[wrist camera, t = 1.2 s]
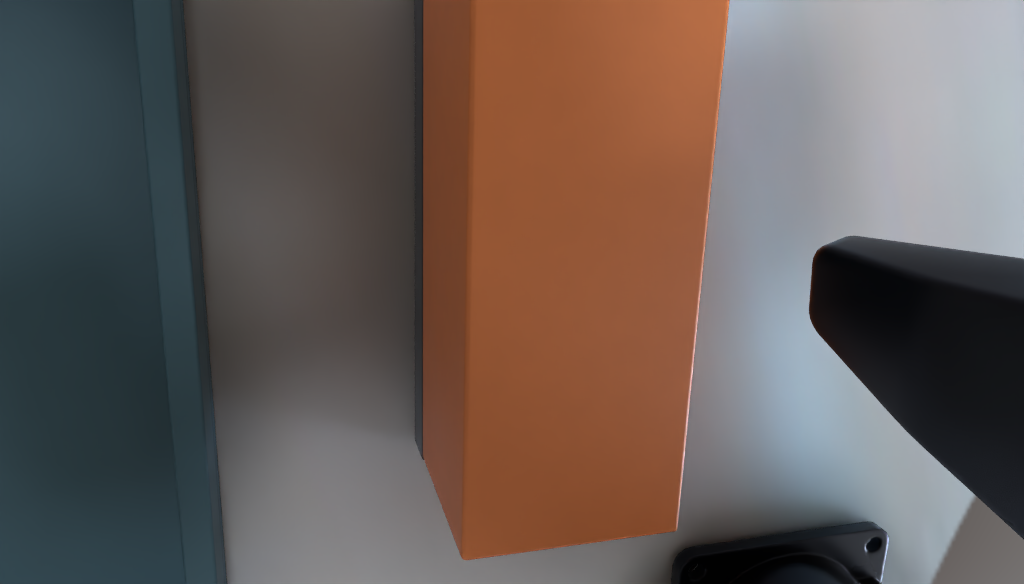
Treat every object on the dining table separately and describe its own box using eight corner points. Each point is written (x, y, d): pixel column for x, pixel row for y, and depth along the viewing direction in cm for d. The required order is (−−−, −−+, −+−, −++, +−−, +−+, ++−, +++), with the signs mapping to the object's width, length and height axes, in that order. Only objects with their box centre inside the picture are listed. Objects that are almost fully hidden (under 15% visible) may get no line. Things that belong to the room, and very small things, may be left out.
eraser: (611, -9, 18) (734, -26, 13) (585, 425, 20) (678, 537, 16) (413, -19, 16) (471, -42, 12) (414, 441, 19) (461, 567, 15)
